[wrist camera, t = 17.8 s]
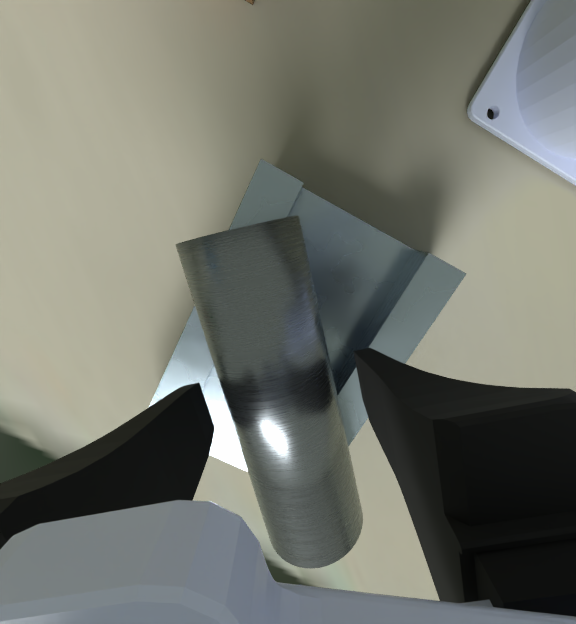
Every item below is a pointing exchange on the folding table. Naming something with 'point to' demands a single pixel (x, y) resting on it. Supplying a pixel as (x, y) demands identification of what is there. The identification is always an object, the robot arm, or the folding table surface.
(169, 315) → the folding table surface
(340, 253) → the cradle
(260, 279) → the axle
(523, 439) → the robot arm
